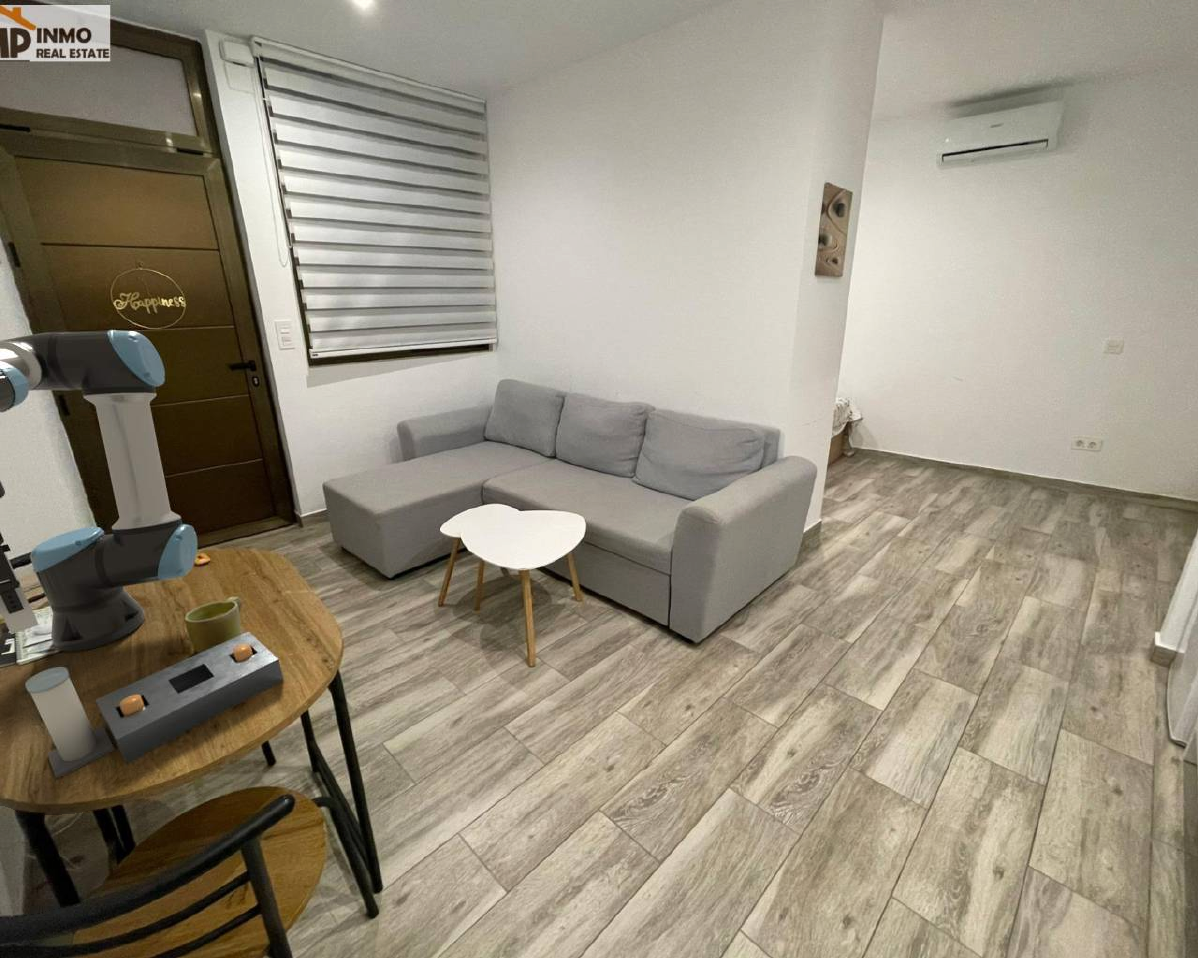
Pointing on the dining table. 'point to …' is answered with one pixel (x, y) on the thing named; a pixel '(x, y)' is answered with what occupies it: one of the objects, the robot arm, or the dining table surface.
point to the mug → (214, 623)
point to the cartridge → (62, 713)
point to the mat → (69, 766)
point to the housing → (188, 695)
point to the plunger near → (131, 704)
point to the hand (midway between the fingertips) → (17, 610)
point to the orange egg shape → (242, 652)
